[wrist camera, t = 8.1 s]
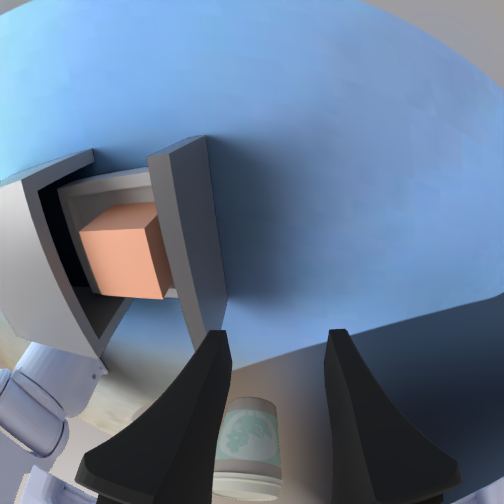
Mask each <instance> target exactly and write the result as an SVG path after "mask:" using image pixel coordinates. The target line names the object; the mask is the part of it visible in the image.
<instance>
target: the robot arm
mask: <svg viewBox="0 0 504 504" xmlns="http://www.w3.org/2000/svg"><path fill="white" fill-rule="evenodd" d="M231 371H232V358H231V354H230V349H229V344H228V339H227V334H226V330H210V331H208V333H207V335H206V336H205V338H204V339H203V341H202V343H201V344H200V346H199V347H198V349H197V350H196V352H195V353H194V355H193V356H192V358H191V359H190V360H189V362H188V363H187V364H186V366H185V367H184V369H183V370H182V371H181V373H180V374H179V375H178V376H177V378H176V379H175V380H174V381H173V382H172V384H171V385H170V386H169V387H168V388H167V390H166V391H165V392H164V393H163V394H162V395H161V396H160V397H159V398H158V399H157V400H156V401H155V402H154V403H153V405H151V407H149V408H148V409H147V410H146V411H145V412H144V413H143V414H142V415H141V416H140V417H138V418H137V419H136V420H135V421H134V422H132V423H131V424H130V425H129V426H127V427H126V428H124V429H123V430H122V431H120V432H119V433H118V434H116V435H115V436H113V437H112V438H110V439H109V440H107V441H106V442H104V443H102V444H101V445H99V446H97V447H95V448H94V449H92V450H90V451H88V452H87V453H85V454H84V456H83V458H82V460H81V463H80V466H79V468H78V471H77V474H76V477H75V482H76V483H78V484H80V485H82V486H84V487H86V488H88V489H90V490H92V491H94V492H96V493H98V494H99V495H98V498H95V497H93V496H90V495H88V494H86V493H84V491H82V490H80V489H78V488H76V487H73V486H72V485H70V484H68V483H66V482H64V481H62V480H60V479H59V478H57V477H55V476H53V475H52V474H50V473H48V472H49V471H50V469H51V468H52V466H53V464H54V462H55V461H56V459H57V457H58V456H59V455H60V454H61V453H62V452H63V450H64V448H65V446H66V444H67V441H68V438H69V426H68V422H67V420H66V419H65V418H72V417H75V416H77V415H79V414H80V413H81V412H82V411H83V410H84V409H85V408H86V406H87V404H88V402H89V400H90V398H91V396H92V393H93V391H94V389H95V387H96V385H97V383H98V381H99V379H100V377H101V375H102V374H104V375H107V374H108V370H107V369H106V368H105V366H104V365H103V363H102V361H101V360H100V358H99V359H96V358H91V357H87V356H83V355H79V354H75V353H71V352H67V351H63V350H59V349H56V348H52V347H49V346H45V345H42V344H39V343H36V342H33V341H32V343H31V344H30V346H29V347H28V348H27V350H26V351H25V353H24V354H23V356H22V357H21V359H20V360H19V362H18V363H17V365H16V366H15V368H14V369H13V370H12V371H9V370H8V369H0V426H2V427H3V428H4V429H5V430H6V431H7V432H9V433H10V434H11V435H12V436H14V437H15V438H17V439H18V440H19V441H20V442H22V443H23V444H24V445H26V446H27V447H28V448H30V449H31V450H33V451H34V452H29V451H27V450H25V449H23V448H22V447H20V446H19V445H18V444H16V443H15V442H14V441H13V440H11V439H10V438H9V437H7V436H6V435H5V434H4V433H2V432H1V431H0V504H14V501H15V498H16V495H17V492H18V489H19V486H20V484H21V481H22V478H23V476H24V474H26V473H30V476H29V478H28V481H27V484H26V486H25V489H24V492H23V495H22V498H21V501H20V504H211V502H212V487H213V475H214V465H215V456H216V448H217V440H218V434H219V429H220V425H221V421H222V417H223V413H224V409H225V404H226V400H227V396H228V391H229V387H230V380H231ZM324 377H325V389H326V396H327V402H328V408H329V415H330V422H331V429H332V439H333V481H332V499H331V504H440V503H441V502H443V494H444V493H446V492H448V491H450V490H452V489H454V488H456V487H458V486H459V485H461V483H462V478H461V472H460V468H459V466H458V463H457V461H456V460H455V459H453V458H452V457H450V456H449V455H447V454H446V453H445V452H444V451H442V450H441V449H439V448H438V447H437V446H436V445H435V444H434V443H432V442H431V441H430V440H429V439H427V438H426V437H425V436H424V435H423V434H422V433H421V432H420V431H419V430H418V429H417V428H416V427H415V426H414V425H413V424H412V423H411V422H410V421H409V420H408V419H407V418H406V417H405V416H404V415H403V414H402V413H401V411H399V409H398V408H397V407H396V406H395V404H394V403H393V402H392V401H391V400H390V398H389V397H388V396H387V394H386V393H385V392H384V390H383V389H382V388H381V386H380V385H379V383H378V382H377V381H376V379H375V378H374V376H373V375H372V373H371V371H370V370H369V368H368V367H367V365H366V364H365V362H364V360H363V359H362V357H361V355H360V354H359V352H358V350H357V348H356V347H355V345H354V343H353V341H352V340H351V337H350V335H349V333H348V331H347V330H346V329H332V330H329V335H328V341H327V347H326V353H325V359H324ZM452 504H504V477H502V478H500V479H499V480H497V481H495V482H494V483H492V484H490V485H488V486H487V487H484V488H482V489H480V490H478V491H476V492H474V493H472V494H470V495H468V496H466V497H464V498H462V499H460V500H458V501H457V502H454V503H452Z"/></svg>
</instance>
